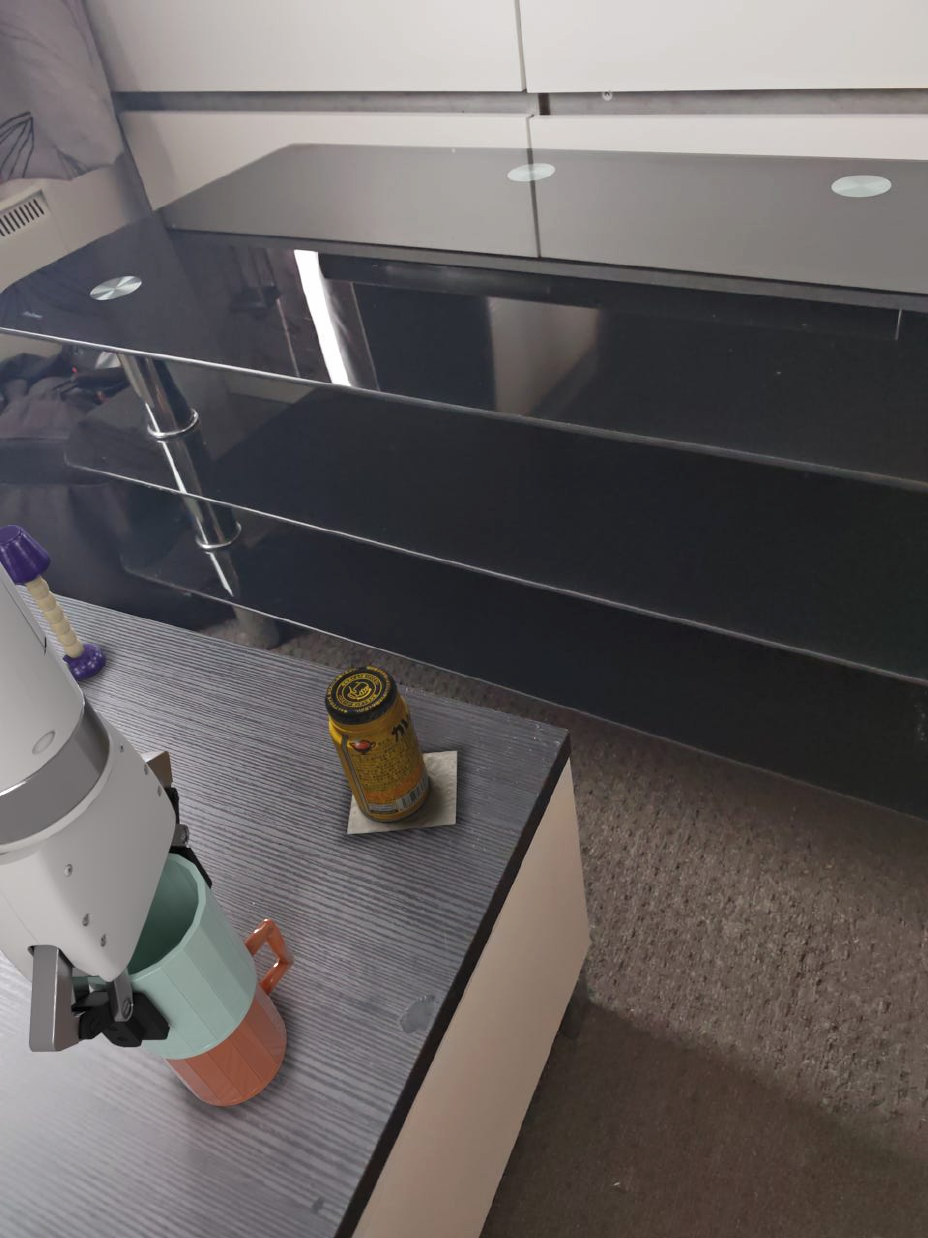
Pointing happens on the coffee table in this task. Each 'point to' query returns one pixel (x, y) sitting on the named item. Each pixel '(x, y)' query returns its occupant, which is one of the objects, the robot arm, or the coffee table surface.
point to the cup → (190, 965)
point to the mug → (244, 1038)
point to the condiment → (387, 757)
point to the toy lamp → (46, 598)
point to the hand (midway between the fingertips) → (165, 957)
